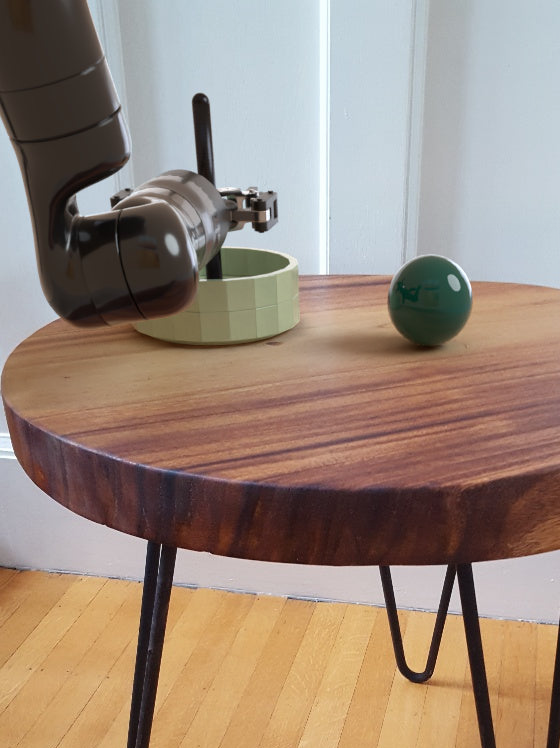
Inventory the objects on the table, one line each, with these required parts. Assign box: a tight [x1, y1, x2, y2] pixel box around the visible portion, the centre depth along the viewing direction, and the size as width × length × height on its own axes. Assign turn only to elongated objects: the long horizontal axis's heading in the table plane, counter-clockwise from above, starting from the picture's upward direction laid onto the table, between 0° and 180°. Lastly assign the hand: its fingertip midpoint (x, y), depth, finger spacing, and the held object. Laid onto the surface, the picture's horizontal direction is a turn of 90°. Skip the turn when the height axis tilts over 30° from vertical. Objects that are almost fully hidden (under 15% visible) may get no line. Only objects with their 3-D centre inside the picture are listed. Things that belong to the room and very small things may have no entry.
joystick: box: [191, 92, 223, 279], centre depth 90 cm, size 6×6×20 cm
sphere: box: [387, 253, 474, 347], centre depth 89 cm, size 8×8×8 cm
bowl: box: [130, 245, 301, 346], centre depth 94 cm, size 17×17×6 cm
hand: (210, 197), depth 91 cm, fingers open, 8 cm apart
